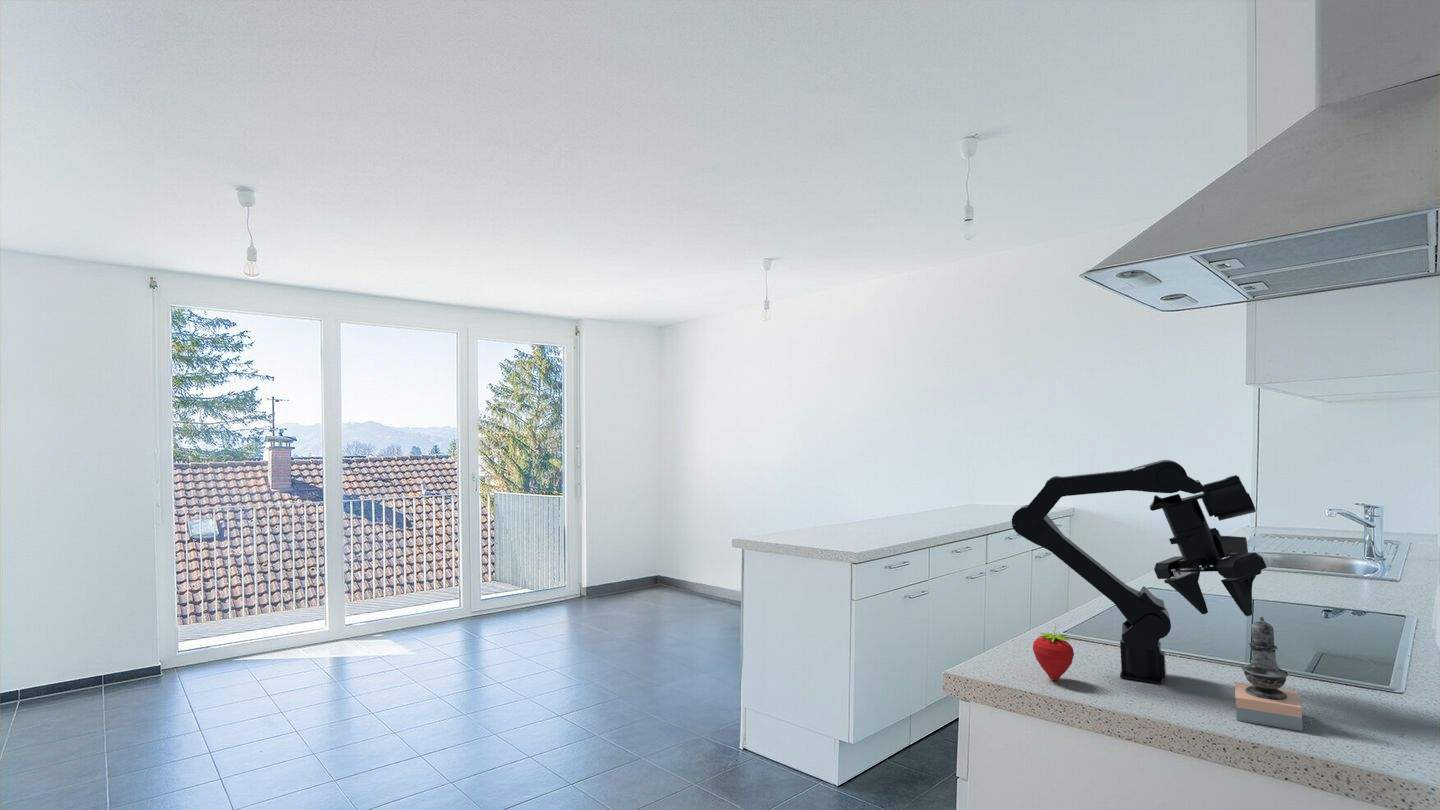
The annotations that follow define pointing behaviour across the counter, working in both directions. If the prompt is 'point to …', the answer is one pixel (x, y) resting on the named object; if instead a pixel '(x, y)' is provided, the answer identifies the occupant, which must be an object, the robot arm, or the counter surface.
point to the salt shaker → (1264, 664)
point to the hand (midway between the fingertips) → (1226, 614)
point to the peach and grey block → (1269, 709)
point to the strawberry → (1053, 654)
